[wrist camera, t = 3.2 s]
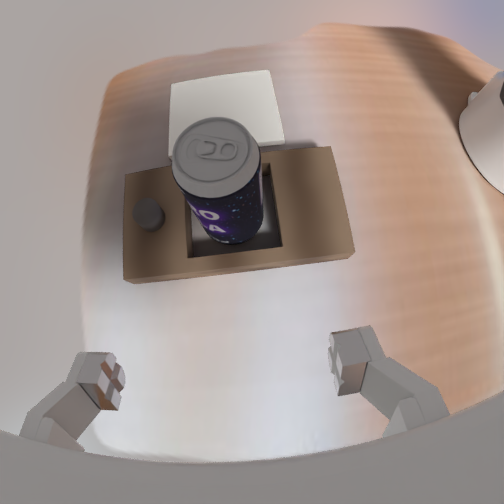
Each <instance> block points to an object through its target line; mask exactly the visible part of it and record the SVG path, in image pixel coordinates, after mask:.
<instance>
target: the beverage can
mask: <svg viewBox="0 0 504 504" xmlns="http://www.w3.org/2000/svg"><path fill="white" fill-rule="evenodd" d="M172 174H173V177H174V180H175V182H176V183H177V185H178V187H179V188H180V190H181V192H182V193H183V195H184V197H185V198H186V200H187V202H188V203H189V205H190V207H191V208H192V210H193V212H194V213H195V215H196V216H197V218H198V220H199V221H200V223H201V225H202V226H203V228H204V229H205V231H206V233H207V234H208V235H209V236H210V237H211V238H212V239H214V240H215V241H217V242H220V243H223V244H230V245H232V244H239V243H242V242H245V241H247V240H249V239H250V238H252V237H253V236H254V235H255V234H256V233H257V231H258V230H259V228H260V227H261V224H262V221H263V192H262V170H261V153H260V149H259V146H258V144H257V142H256V140H255V139H254V138H253V137H252V136H251V134H250V133H249V131H248V130H247V129H246V128H245V127H244V126H243V125H242V124H241V123H239V122H237V121H235V120H233V119H230V118H225V117H209V118H205V119H202V120H199V121H197V122H195V123H193V124H191V125H190V126H188V127H187V128H186V129H185V130H184V131H183V132H182V133H181V134H180V135H179V136H178V138H177V140H176V142H175V144H174V147H173V151H172Z"/></svg>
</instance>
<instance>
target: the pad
mask: <svg viewBox="0 0 504 504" xmlns="http://www.w3.org/2000/svg"><path fill="white" fill-rule="evenodd" d="M209 117H225V118H230V119H233V120H235V121H237V122H239V123H241V124H242V125H243V126H244V127H245V128H246V129H247V130H248V131H249V133H250V134H251V136H252V137H253V138H254V139H255V140H256V142H257V144H258V146H259V147H261V146H270V145H280V144H284V143H285V139H284V134H283V129H282V124H281V120H280V115H279V110H278V106H277V101H276V97H275V92H274V88H273V84H272V79H271V75H270V71H269V70H259V71H250V72H241V73H233V74H225V75H218V76H212V77H206V78H200V79H194V80H189V81H183V82H178V83H174V84H171V95H170V116H169V150H168V156H169V158H170V160H172V151H173V147H174V144H175V142H176V140H177V138H178V136H179V135H180V134H181V133H182V132H183V131H184V130H185V129H186V128H187V127H188V126H190V125H191V124H193V123H195V122H197V121H199V120H202V119H205V118H209Z"/></svg>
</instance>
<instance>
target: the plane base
mask: <svg viewBox="0 0 504 504" xmlns="http://www.w3.org/2000/svg"><path fill="white" fill-rule="evenodd" d="M260 153H261V170H262V176H267V175H270V178H271V185H272V191H273V198H274V204H275V211H276V218H277V224H278V231H279V238H280V245H281V247H277V248H269V249H261V250H252V251H244V252H236V253H228V254H220V255H212V256H204V257H195V258H194V257H193V242H192V225H191V207H190V205H189V203H188V202H187V200H186V198H185V197H184V195H183V193H182V192H181V190H180V188H179V187H178V185H177V183H176V182H175V180H174V177H173V174H172V166H166V167H161V168H156V169H150V170H145V171H141V172H136V173H131V174H126V176H125V192H124V216H123V279H124V280H125V281H128V282H130V283H133V284H141V283H150V282H159V281H169V280H178V279H187V278H196V277H205V276H213V275H222V274H230V273H239V272H247V271H255V270H264V269H272V268H280V267H288V266H296V265H303V264H311V263H319V262H326V261H334V260H341V259H348V258H349V257H350V256H351V255H352V254H353V253H355V248H354V243H353V238H352V233H351V228H350V224H349V219H348V214H347V210H346V205H345V201H344V197H343V192H342V188H341V184H340V180H339V176H338V172H337V168H336V164H335V160H334V157H333V153H332V149H331V146H328V147H313V148H300V149H289V150H279V151H269V152H260Z"/></svg>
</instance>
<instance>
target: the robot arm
mask: <svg viewBox="0 0 504 504" xmlns="http://www.w3.org/2000/svg"><path fill="white" fill-rule="evenodd" d="M459 129H460V134H461V138H462V141H463V143H464V146H465V148H466V150H467V152H468V154H469V156H470V158H471V159H472V161H473V163H474V164H475V166H476V167H477V168H478V170H479V171H480V172H481V174H482V175H483V176H484V177H485V178H486V179H487V180H488V181H489V182H490V183H491V184H492V185H493V186H494V187H495V188H496V189H498V190H499V191H500V192H502V193H503V194H504V71H499V72H497V73H496V74H495V75H494V77H493V78H492V79H491V80H490V81H489V82H488V83H487V84H486V85H485V86H484V87H483V88H482V90H481V91H480V92H479V93H477V92H472V93H471V94H470V95H469V97H468V106H467V107H466V108H465V109H464V110H463V112H462V113H461V115H460V119H459ZM329 342H330V345H331V346H330V347H329V348H328V359H329V366H330V370H331V373H333V374H334V375H335V376H334V385H335V388H336V392H337V395H338V396H343V395H348V394H354V393H359V392H360V394H361V395H362V396H363V397H365V398H366V399H367V400H368V401H369V402H370V403H371V404H372V405H373V406H375V407H376V408H377V409H378V410H379V411H380V412H381V413H382V414H384V415H385V416H386V417H387V418H388V419H389V420H390V422H389V424H388V425H387V427H386V429H385V431H384V433H383V438H381V439H377V440H373V441H369V442H365V443H361V444H357V445H353V446H348V447H344V448H339V449H334V450H329V451H323V452H318V453H312V454H305V455H299V456H291V457H283V458H275V459H265V460H253V461H237V462H166V461H150V460H139V459H128V458H120V457H113V456H106V455H99V454H93V453H87V452H84V451H85V450H84V448H83V446H81V445H80V444H79V443H78V442H77V441H76V440H77V439H78V438H79V436H80V435H81V434H82V433H83V431H84V430H85V429H86V428H87V427H88V425H89V424H90V423H91V422H92V421H93V419H94V418H95V417H96V416H97V415H98V413H99V412H100V410H116V411H118V409H119V405H120V401H121V395H120V393H119V392H120V391H121V390H122V389H124V385H125V374H124V370H123V369H122V367H121V366H120V365H119V364H117V363H116V357H115V356H114V354H113V353H106V352H79V353H78V354H77V355H76V358H75V360H74V362H73V365H72V367H71V370H70V372H69V374H68V377H67V379H66V382H62V383H61V384H60V385H59V386H57V387H56V388H55V389H54V390H53V391H52V392H51V393H49V394H48V395H47V396H46V397H45V398H44V399H42V400H41V401H40V402H39V403H38V404H37V405H36V406H34V407H33V408H32V409H31V410H30V411H29V412H28V413H27V416H26V418H25V421H24V424H23V426H22V429H21V431H20V434H19V436H18V435H14V434H11V433H8V432H5V431H2V430H0V504H504V390H503V391H502V392H500V393H498V394H496V395H494V396H492V397H490V398H488V399H486V400H483V401H481V402H479V403H477V404H475V405H473V406H470V407H468V408H466V409H464V410H461V411H459V412H456V413H454V414H452V415H450V413H449V411H448V409H447V407H446V405H445V403H444V400H443V398H442V396H441V394H440V392H439V390H438V388H437V387H436V386H434V385H432V384H431V383H429V382H428V381H426V380H425V379H423V378H422V377H420V376H418V375H417V374H415V373H414V372H412V371H411V370H409V369H407V368H406V367H404V366H403V365H401V364H400V363H398V362H397V361H395V360H393V359H392V358H390V357H388V358H386V356H385V354H384V352H383V350H382V348H381V345H380V343H379V341H378V339H377V337H376V334H375V332H374V330H373V328H372V327H371V326H370V325H369V326H364V327H359V328H353V329H348V330H343V331H338V332H332V333H330V335H329Z"/></svg>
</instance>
